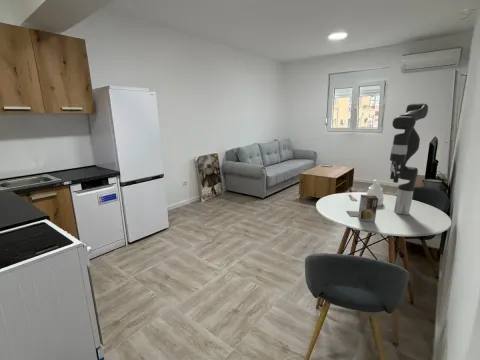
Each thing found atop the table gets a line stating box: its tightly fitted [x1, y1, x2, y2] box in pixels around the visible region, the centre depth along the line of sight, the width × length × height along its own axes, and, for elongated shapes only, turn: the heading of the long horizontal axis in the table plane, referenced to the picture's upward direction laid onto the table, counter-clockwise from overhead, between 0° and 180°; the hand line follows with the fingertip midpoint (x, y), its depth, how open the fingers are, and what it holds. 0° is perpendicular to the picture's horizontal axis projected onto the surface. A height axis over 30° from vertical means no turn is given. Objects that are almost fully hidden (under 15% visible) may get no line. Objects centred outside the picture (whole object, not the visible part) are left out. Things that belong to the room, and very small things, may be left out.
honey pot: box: [365, 179, 385, 206], centre depth 204 cm, size 13×13×18 cm
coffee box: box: [357, 194, 378, 223], centre depth 169 cm, size 9×6×16 cm
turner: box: [348, 194, 358, 202], centre depth 216 cm, size 15×4×1 cm, turn 172°
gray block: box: [346, 210, 359, 218], centre depth 179 cm, size 10×16×1 cm, turn 82°
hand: (393, 180), depth 150 cm, fingers open, 8 cm apart
